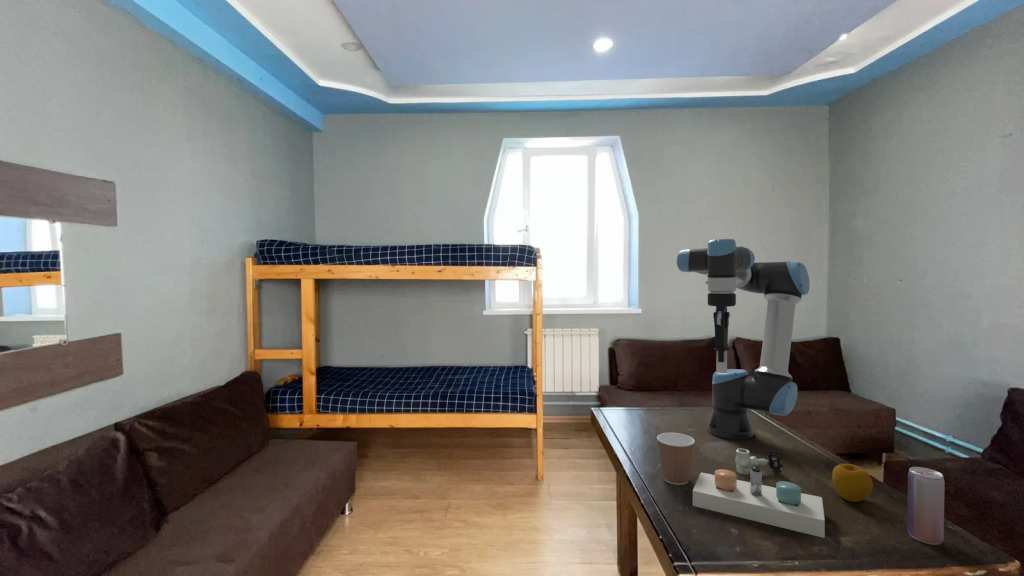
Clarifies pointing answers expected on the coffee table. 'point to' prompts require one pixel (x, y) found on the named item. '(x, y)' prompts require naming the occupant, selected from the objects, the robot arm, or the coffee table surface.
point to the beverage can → (925, 505)
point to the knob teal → (788, 492)
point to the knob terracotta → (725, 479)
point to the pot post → (756, 481)
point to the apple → (852, 482)
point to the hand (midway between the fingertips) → (721, 372)
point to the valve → (756, 461)
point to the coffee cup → (675, 457)
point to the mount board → (761, 506)
